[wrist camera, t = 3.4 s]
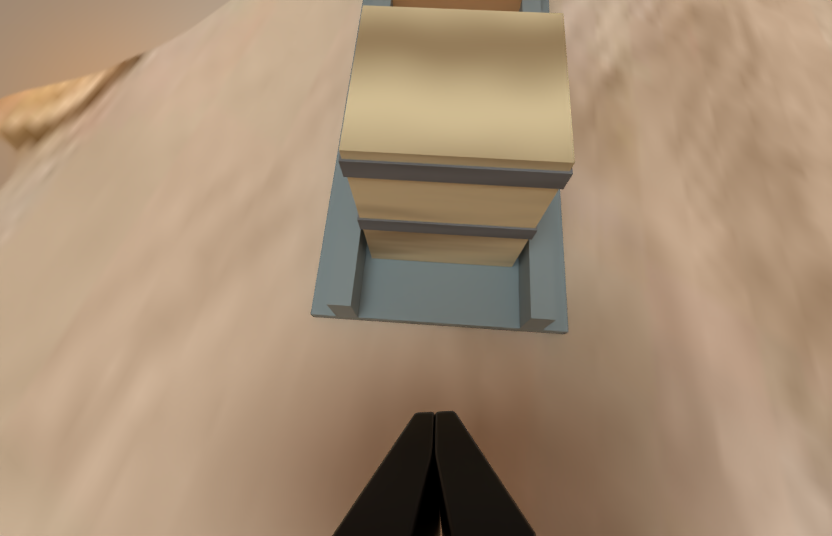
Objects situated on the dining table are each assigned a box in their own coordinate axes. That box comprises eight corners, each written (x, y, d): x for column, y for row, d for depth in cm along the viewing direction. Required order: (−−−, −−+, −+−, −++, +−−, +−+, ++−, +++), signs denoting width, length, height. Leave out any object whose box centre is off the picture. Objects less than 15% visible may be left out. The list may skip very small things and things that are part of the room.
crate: (513, 268, 23) (578, 165, 14) (370, 259, 23) (335, 152, 14) (512, 161, 25) (565, 11, 16) (382, 154, 26) (360, 3, 16)
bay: (579, 334, 22) (687, 278, 13) (313, 316, 23) (243, 250, 14) (554, -26, 32) (606, -197, 23) (370, -33, 33) (351, -203, 24)
